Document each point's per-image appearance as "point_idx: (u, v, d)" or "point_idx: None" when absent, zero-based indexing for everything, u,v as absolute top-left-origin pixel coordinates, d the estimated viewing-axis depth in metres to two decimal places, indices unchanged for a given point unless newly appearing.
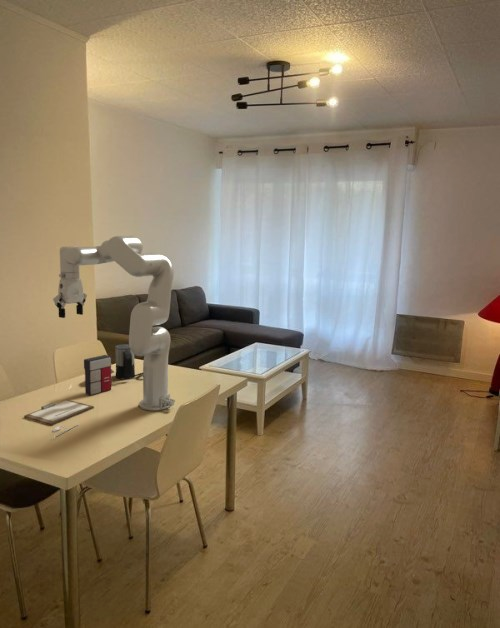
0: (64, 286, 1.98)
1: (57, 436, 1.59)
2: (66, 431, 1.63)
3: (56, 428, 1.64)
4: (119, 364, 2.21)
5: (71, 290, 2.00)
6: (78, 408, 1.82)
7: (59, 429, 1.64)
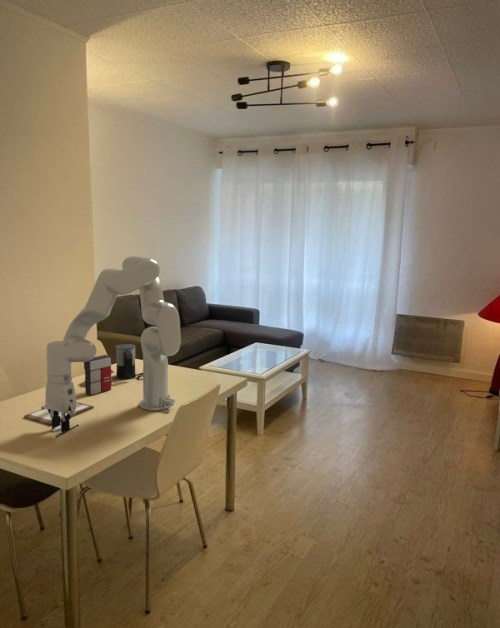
0: (73, 390, 1.61)
1: (57, 435, 1.59)
2: None
3: (57, 427, 1.64)
4: (120, 363, 2.21)
5: None
6: (78, 408, 1.82)
7: (60, 428, 1.64)
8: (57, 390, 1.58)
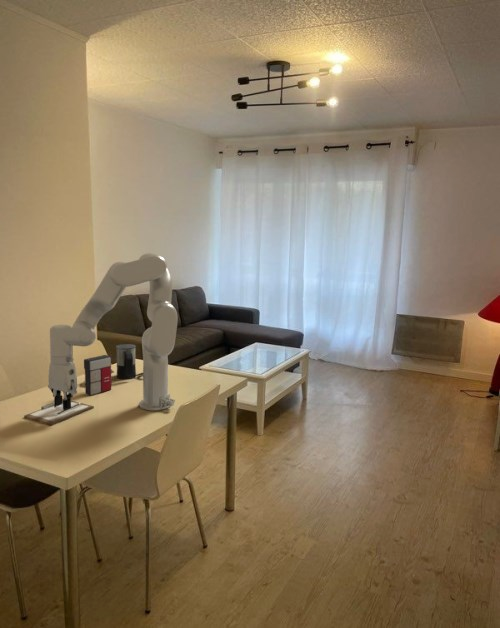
0: (75, 370, 1.72)
1: (59, 412, 1.70)
2: None
3: (59, 406, 1.75)
4: (120, 363, 2.21)
5: None
6: (78, 408, 1.82)
7: (61, 407, 1.75)
8: (59, 370, 1.70)
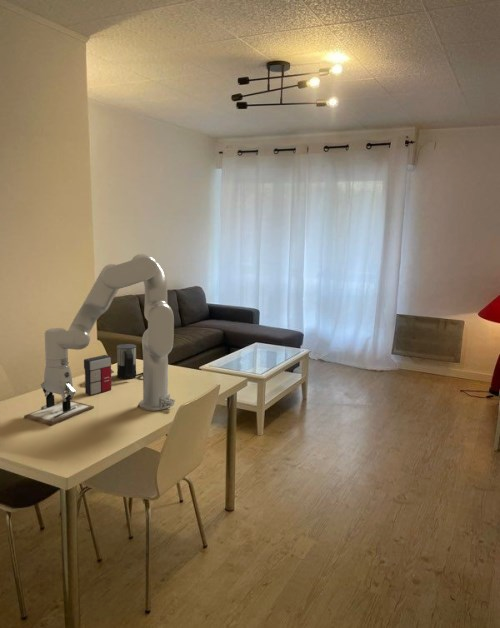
0: (70, 373, 1.74)
1: (55, 416, 1.72)
2: (64, 412, 1.76)
3: (55, 409, 1.77)
4: (120, 363, 2.22)
5: None
6: (78, 408, 1.82)
7: (58, 410, 1.77)
8: (54, 373, 1.71)
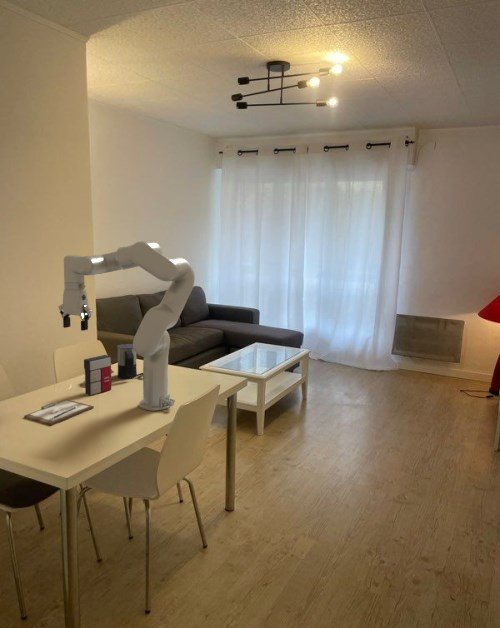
0: (86, 296, 1.91)
1: (55, 416, 1.72)
2: (64, 412, 1.76)
3: (55, 409, 1.77)
4: (121, 363, 2.22)
5: None
6: (78, 408, 1.82)
7: (58, 410, 1.77)
8: (72, 295, 1.88)
